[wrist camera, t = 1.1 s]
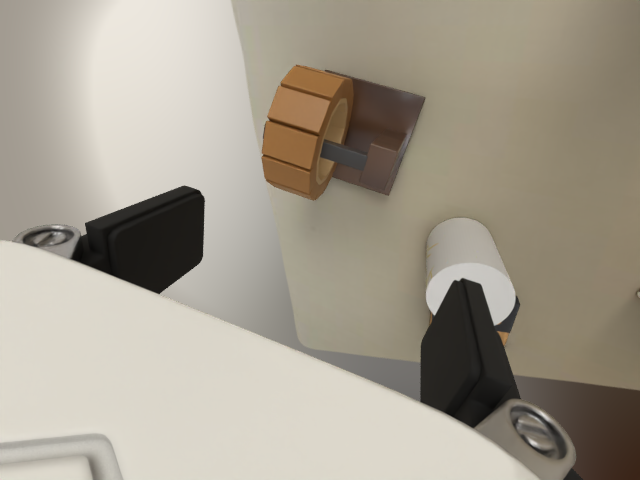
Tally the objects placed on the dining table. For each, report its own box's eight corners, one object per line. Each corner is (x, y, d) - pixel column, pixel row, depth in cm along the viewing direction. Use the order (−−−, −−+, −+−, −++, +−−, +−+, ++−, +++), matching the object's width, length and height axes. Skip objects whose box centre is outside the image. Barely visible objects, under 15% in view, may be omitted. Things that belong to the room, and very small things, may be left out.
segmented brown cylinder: (320, 69, 34) (273, 60, 24) (361, 80, 33) (331, 76, 23) (299, 171, 40) (255, 199, 30) (333, 182, 39) (300, 215, 29)
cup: (418, 228, 42) (414, 274, 31) (482, 208, 38) (502, 253, 28) (437, 277, 44) (440, 335, 34) (500, 263, 40) (525, 323, 30)
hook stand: (320, 68, 37) (273, 59, 26) (425, 97, 35) (423, 101, 24) (300, 163, 43) (255, 189, 32) (389, 193, 41) (374, 232, 30)
